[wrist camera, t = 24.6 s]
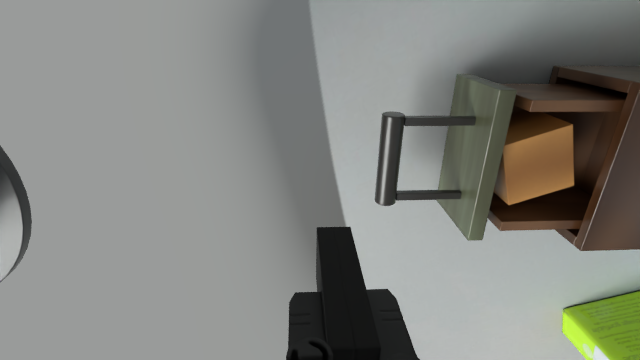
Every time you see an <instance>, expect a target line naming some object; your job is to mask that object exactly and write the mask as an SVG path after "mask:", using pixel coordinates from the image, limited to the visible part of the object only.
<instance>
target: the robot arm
mask: <svg viewBox="0 0 640 360" xmlns="http://www.w3.org/2000/svg"><path fill="white" fill-rule="evenodd" d="M316 280H317V292H304V293H303V292H299V293H295V294H294V296H293V297H292V299H291V301H290V304H289V341H288V352H287V356H286V360H420V359H419V358H418V357H417V355H416V353H415V351H414V348H413V345H412V342H411V339H410V336H409V334H408V331H407V328H406V325H405V322H404V320H403V317H402V314H401V311H400V308H399V305H398V302H397V300H396V298H395V297H394V296H393V295H392V293H391V292H390V291H389V290H388V289H372V290H366V287H365V283H364V279H363V275H362V271H361V267H360V263H359V259H358V255H357V252H356V248H355V244H354V240H353V236H352V232H351V228H350V227H318V228H317V259H316Z"/></svg>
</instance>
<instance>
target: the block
mask: <svg viewBox="0 0 640 360" xmlns="http://www.w3.org/2000/svg"><path fill="white" fill-rule="evenodd" d="M571 186H574V151H573V124H571V123H568V122H566V121H563V120H561V119H558V118H556V117H553V116H551V115H548V114H545V113H543V112H529V111H527V110H522V111H519V112H516V113H513V114H511V119H510V123H509V127H508V132H507V136H506V140H505V145H504V149H503V153H502V157H501V162H500V166H499V170H498V175H497V179H496V183H495V188H494V193H495V194H497V195H498V196H499V197H500V198H501V199H502V200H503V201H504V202H506V203H507V204H508V205H512V204H515V203H518V202H522V201H525V200H528V199H531V198H535V197H538V196H541V195H545V194H548V193H551V192H555V191H558V190H561V189H565V188H568V187H571Z"/></svg>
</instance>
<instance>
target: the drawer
mask: <svg viewBox="0 0 640 360" xmlns="http://www.w3.org/2000/svg"><path fill="white" fill-rule="evenodd" d="M627 95H628V93H625V92H620V91H616V90H612V89H607V88H603V87H599V86H595V85H590V84H498V83H495V82H492V81H489V80H486V79H483V78H480V77H477V76H474V75H471V74H457V76H456V83H455V89H454V95H453V101H452V107H451V113H450V116H405V115H404V114H403V113H399V112H385V113H383V114H382V122H381V134H380V145H379V157H378V169H377V180H376V192H375V202H376V203H378V204H380V205H384V206H390V205H393V204H394V203H395V200H437V201H438V203H439V204H440V205H441V206H442V208H443V209H444V210H445V212H446V213H447V214H448V215H449V217H450V218H451V219H452V221H453V222H454V223H455V225H456V226H457V227H458V228H459V230H460V231H461V232H462V234H463V235H464V236H465V237H466V239H467V240H482V239H483V235H484V231H485V226H486V222H487V218H488V219H489V220H490V221H491V222H492V223H493V224H494V225H495V226H496V227H497V228H498V229H499V230H500V231H506V230H547V229H580V227H581V224H582V221H583V218H584V215H585V213H586V210H587V207H588V204H589V201H590V199H591V196H592V193H593V190H594V187H595V185H596V182H597V179H598V176H599V173H600V170H601V168H602V165H603V162H604V159H605V156H606V154H607V151H608V148H609V145H610V142H611V140H612V137H613V134H614V131H615V128H616V126H617V123H618V120H619V117H620V114H621V111H622V109H623V106H624V103H625V100H626V97H627ZM522 110H527V111H529V112H543V113H545V114H548V115H551V116H553V117H556V118H558V119H561V120H563V121H566V122H568V123H571V124H573V151H574V186H571V187H568V188H565V189H561V190H558V191H555V192H551V193H548V194H545V195H541V196H538V197H535V198H531V199H528V200H525V201H522V202H518V203H515V204H512V205H508V204H507V203H506V202H504V201H503V200H502V199H501V198H500V197H499V196H498V195H497V194H495V193H494V188H495V183H496V179H497V175H498V170H499V166H500V162H501V157H502V153H503V149H504V145H505V140H506V136H507V132H508V127H509V123H510V119H511V114H513V113H516V112H519V111H522ZM404 126H448V132H447V138H446V144H445V150H444V156H443V162H442V169H441V175H440V181H439V187H438V190H412V191H397V182H398V173H399V164H400V155H401V146H402V137H403V128H404Z"/></svg>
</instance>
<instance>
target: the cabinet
mask: <svg viewBox="0 0 640 360" xmlns="http://www.w3.org/2000/svg"><path fill="white" fill-rule="evenodd" d="M549 84H590V85H595V86H599V87H603V88H607V89H612V90H616V91H620V92H625V93H628V95H627V97H626V100H625V103H624V106H623V109H622V111H621V114H620V117H619V120H618V123H617V126H616V128H615V131H614V134H613V137H612V140H611V142H610V145H609V148H608V151H607V154H606V156H605V159H604V162H603V165H602V168H601V170H600V173H599V176H598V179H597V182H596V185H595V187H594V190H593V193H592V196H591V199H590V201H589V204H588V207H587V210H586V213H585V215H584V218H583V221H582V224H581V227H580V229H555V230H556V231H557V232H558V233H559V234H561V235H562V236H563V237H564V238H566V239H567V240H568V241H569V242H570V243H572V244H573V245H574V246H575V247H577V248H578V249H579V250H580V251H595V250H630V249H640V66H554V67H553V70H552V74H551V78H550V82H549Z"/></svg>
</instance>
